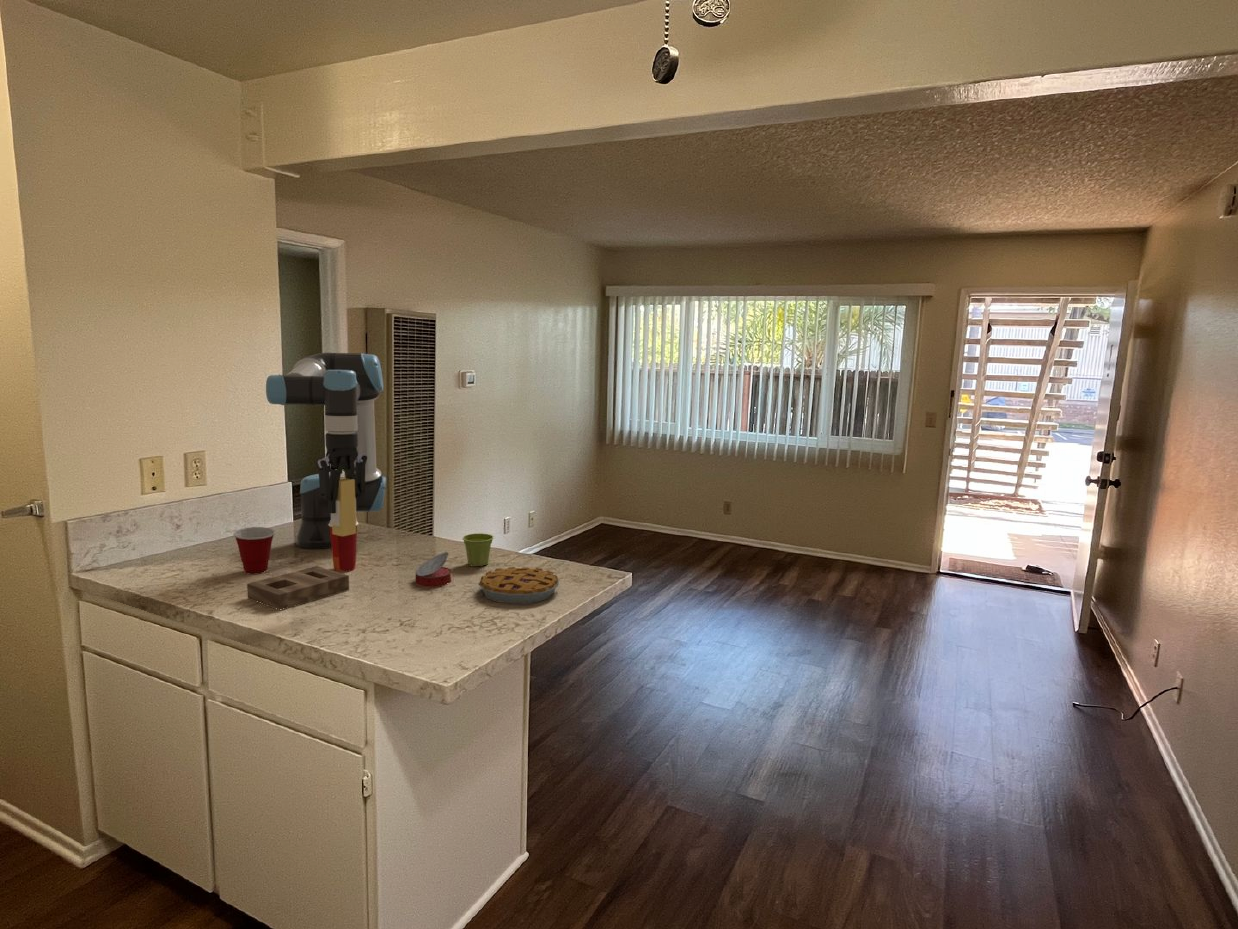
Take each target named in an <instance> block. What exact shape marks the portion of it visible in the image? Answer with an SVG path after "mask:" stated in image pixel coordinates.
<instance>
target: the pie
mask: <svg viewBox="0 0 1238 929" xmlns="http://www.w3.org/2000/svg"><path fill="white" fill-rule="evenodd" d="M559 583H560V579H559V578H558V576H557V575H556V574H554V573H553V571H550V570H546V571H545V570H543V569H542V568H539V567H536V568H535V569H534V568H530V567H525V566H523V567H521V568H519V567H514V566H512V567H508V568H503V569H502V568H495V569H494V571H491V570H489V571H487V572H486V573H485V575H482V576H481V578H480V580H479V582H478V585H479V587H480V588H481V590H482V591H483V594H484V595H485V597H486V598H487V599H488V600H492V601H495V602H498V601H499V602H498V603H504V602H505V603H506V604H520V603H525V604H533V603H532V602H535V603H539V602H538V601H540V602H542V601H545V600H548V598H550V597H551V596H552V595H553V594H554V592H555V591H556V588H557V587H558V586H559V585H560V584H559ZM549 596H550V597H549Z"/></svg>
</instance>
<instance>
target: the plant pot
mask: <svg viewBox="0 0 1238 929" xmlns="http://www.w3.org/2000/svg"><path fill="white" fill-rule="evenodd" d="M494 537H495V536H493V535H492V534H490V533H483V532H482V533H481V532H479V533H469V534H465V535H463V536H462V541H463V544H464V546H465V551H466V552H465V553H466V557H467V558H466V559H467V564H469V566H471V565H472V566H471V567H473V566H481V567H482V566H484V565H486V564H487V565H489V561H490V552H491V545H492V544H493V540H494ZM487 565H486V566H487Z"/></svg>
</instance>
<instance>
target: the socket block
mask: <svg viewBox="0 0 1238 929" xmlns="http://www.w3.org/2000/svg"><path fill="white" fill-rule="evenodd" d="M349 576H350V575H348V574H345V573H342V572H338V571H335V570H332V569H329V568H325V567H321V566H319V565H316V566H311V567H308V568H304V569H299V570H296V571H292V572H288V573H282V574H281V575H276V576H272V577H268V578H265V579H264V578H263V579H260V580H256V581H252V582H248V583H246V584H247V585H246V589H247V590H246V592H247V599H248V598H249V599H248V600H250V599H251V601H253V600H254V602H256V601H258V602H261V603H263V604H262V605H264V604H265V606H267V605H268V606H267V607H269V606H270V608H272V607H274V608H273V609H275V608H277V609H279V610H278V611H281V610H280V609H283V608H286V609H288V608H287V607H289V608H291V607H292V606H293V607H295V605H296V606H298V604H299V605H301V604H302V603H303V604H305V602H306V603H310V602H312V601H316V600H320V599H323V598H326V597H330V596H333V595H335V594H339V593H344V592H346V591H349V590H350V577H349ZM329 595H330V596H329ZM309 601H310V602H309ZM258 602H257V603H258ZM261 603H260V604H261ZM293 607H292V608H293ZM277 609H276V610H277ZM283 610H284V609H283Z"/></svg>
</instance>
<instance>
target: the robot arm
mask: <svg viewBox="0 0 1238 929" xmlns="http://www.w3.org/2000/svg"><path fill="white" fill-rule="evenodd" d="M382 372H383V370H382V366H381V362H380V359H379V357H378V356H377V355H376V354H371V353H363V352H361V353H360V352H359V353H357V352H355V353H354V352H353V353H352V352H351V353H350V352H321V353H316V354H313V355H309V356H306V357H302V358H301V359H299V360H298V361H297V362H296V363H295V364H294V366H292V370H290V372H288V373H287V374H271V375H270V374H269V376H268V377H267V378H266V381H265V382H266V383H265V394H266V399H267V401H268V403H269V404H270V405H280V406H286V405H287V406H288V405H290V406H291V405H292V406H297V405H299V406H300V405H301V406H302V405H303V406H309V405H311V406H324V427H325V428H324V429H325V431H326V433H325V435H324V436H325V438H324V440H325V447H326V448H325V449H326V453H325V456H324V457H322V458H321V459H316V460H315V464H316V466H317V470H318V473H316V474H311V475H308V476H304V477H303V478H302V480H301V481H300V487H299V488H300V490H299V494H300V511H301V512H300V513H301V514H300V515H301V516H300V517H301V522H300V525H299V529H298V531H297V535H296V538H295V541H296V546H297V547H299V548H302V549H310V550H312V549H313V550H315V549H329V548H332V545H331V534H330V526H329V525H328V524H329V523H330V521H331V525H334V526H340V500H337V495H338V488H339V481H340V478H348V479H354V480H355V514H356V515H357V513H359V512H362V513H363V512H366V513H370V512H378V511H380V510H382V509H383V507H384V501H385V500H384V499H385V493H386V492H385V491H386V483H387V477H386V476H383V475H382V471H381V470H380V468H377V446H376V442H377V441H376V421H375V418H376V417H375V401H376V400H377V399H378V398H379V397H380V393H381V392H383V391H384V380H383V379H384V377H383V373H382ZM343 473H344V476H342V477H341V475H342V474H343Z"/></svg>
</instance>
